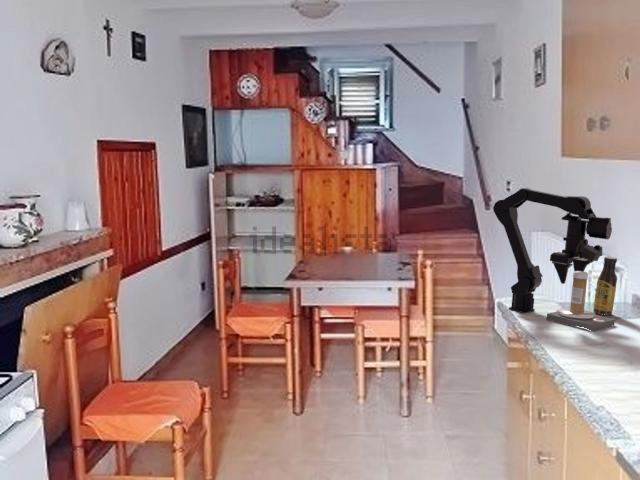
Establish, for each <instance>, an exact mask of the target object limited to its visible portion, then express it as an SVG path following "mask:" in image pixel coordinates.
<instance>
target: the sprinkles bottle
mask: <svg viewBox="0 0 640 480" xmlns="http://www.w3.org/2000/svg"><path fill="white" fill-rule="evenodd" d="M572 273H573V274H572V277H573V279H572V286H571V296H570V306H569V308H570V312H572V313H576V314H583V313H584V310H585V304H586V293H587V283H588V278H589V273H588V272H587V271H584V272H582V271H574V270H573V272H572Z"/></svg>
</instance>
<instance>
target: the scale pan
mask: <svg viewBox="0 0 640 480" xmlns="http://www.w3.org/2000/svg"><path fill="white" fill-rule="evenodd" d="M556 312H557V314H558V315H560V316H562V317H566V318H571V319H578V320H591V319H594V315H595V313H594V312H592V311H589V310H587V309H586V310H585V309H584V313H583V314H576V313H572V312H570V307H559V308H557V309H556Z"/></svg>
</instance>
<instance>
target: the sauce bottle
mask: <svg viewBox="0 0 640 480" xmlns="http://www.w3.org/2000/svg"><path fill="white" fill-rule="evenodd" d="M617 262H618V258H617V257H614V256H604V257H603V268H602V270H601V272H600V274H599V276H598V277H597V278H598V279H597V281H596V288H595V293H594V301H593V309H592V311H593V312H592V313H594V314H595V315H600V314H603V315H602V316H608V315H607V314H611V315H612V314H613V309H614V304H615V297H616V289H617V282H618V277H617V274H616V265H617ZM604 314H606V315H604Z"/></svg>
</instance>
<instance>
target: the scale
mask: <svg viewBox="0 0 640 480" xmlns="http://www.w3.org/2000/svg"><path fill="white" fill-rule="evenodd" d="M545 320H547V321H550V322H554V323H557V322H558V323H557V324H561V323H563V324H562V325H565V324H568V325H567V326H569V325H573V326H579V327H584V328H587V329H589V330H591V331H590V332H592V331H593V332H596V331H600V330H602V329H607V328H609V327H610V328H611V327H613V326H612V325H614V326H615V322H616V319H615V318H611V317H606V316H604V315H599V314H594V319H591V320H578V319H571V318H566V317H562V316H560V315H558V314H557V311H554V312H553V311H552V312H548V313H546V319H545ZM573 326H572V327H573ZM589 330H588V331H589Z"/></svg>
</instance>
